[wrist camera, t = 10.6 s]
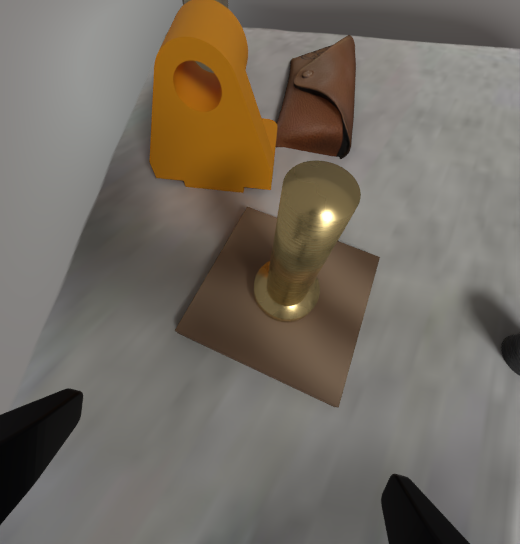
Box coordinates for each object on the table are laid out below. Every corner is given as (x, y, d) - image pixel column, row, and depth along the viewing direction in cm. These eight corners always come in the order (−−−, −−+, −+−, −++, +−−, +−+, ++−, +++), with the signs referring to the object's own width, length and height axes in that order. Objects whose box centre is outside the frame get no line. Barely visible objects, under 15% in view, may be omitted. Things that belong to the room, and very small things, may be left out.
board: (333, 406, 18) (338, 407, 17) (178, 333, 19) (174, 330, 19) (374, 262, 23) (379, 257, 22) (247, 213, 24) (247, 206, 23)
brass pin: (327, 309, 20) (409, 219, 10) (267, 332, 19) (290, 259, 9) (300, 255, 21) (345, 134, 12) (244, 274, 21) (241, 160, 11)
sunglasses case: (287, 55, 36) (324, 1, 30) (325, 89, 39) (364, 46, 33) (267, 147, 28) (311, 97, 23) (316, 181, 31) (365, 143, 26)
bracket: (275, 143, 28) (292, -12, 18) (270, 195, 25) (286, 46, 15) (176, 133, 29) (132, -28, 18) (159, 184, 25) (92, 27, 15)
